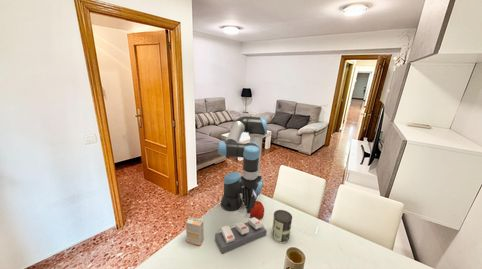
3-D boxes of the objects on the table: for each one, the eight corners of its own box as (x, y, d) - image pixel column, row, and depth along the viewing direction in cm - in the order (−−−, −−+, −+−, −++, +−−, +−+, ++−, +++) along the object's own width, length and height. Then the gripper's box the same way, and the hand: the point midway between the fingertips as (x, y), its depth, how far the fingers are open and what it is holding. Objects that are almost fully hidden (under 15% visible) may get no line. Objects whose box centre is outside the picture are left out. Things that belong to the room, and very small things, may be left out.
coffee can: (289, 231, 115) (291, 211, 112) (289, 244, 105) (292, 223, 102) (271, 228, 117) (274, 208, 113) (271, 241, 107) (273, 219, 104)
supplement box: (204, 239, 106) (204, 219, 102) (200, 246, 101) (199, 225, 98) (190, 236, 108) (190, 216, 104) (186, 242, 103) (185, 222, 100)
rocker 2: (235, 228, 110) (234, 223, 110) (241, 225, 112) (241, 221, 112) (241, 234, 103) (241, 230, 103) (248, 231, 105) (248, 227, 105)
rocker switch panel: (215, 239, 106) (215, 232, 105) (256, 224, 120) (257, 217, 118) (222, 254, 98) (222, 246, 96) (266, 235, 111) (267, 228, 110)
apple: (257, 209, 134) (258, 195, 131) (267, 217, 126) (268, 204, 123) (245, 213, 129) (246, 200, 126) (254, 223, 120) (255, 208, 118)
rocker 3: (248, 223, 114) (248, 219, 114) (254, 221, 116) (254, 216, 116) (255, 229, 107) (255, 224, 107) (262, 226, 109) (262, 222, 109)
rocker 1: (220, 230, 105) (221, 227, 104) (228, 227, 107) (228, 224, 106) (226, 243, 99) (227, 240, 98) (234, 240, 101) (234, 237, 100)
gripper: (236, 172, 98) (234, 211, 105) (250, 184, 88) (247, 227, 94) (249, 169, 102) (246, 207, 108) (263, 181, 91) (259, 222, 98)
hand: (247, 216), depth 101 cm, fingers closed
